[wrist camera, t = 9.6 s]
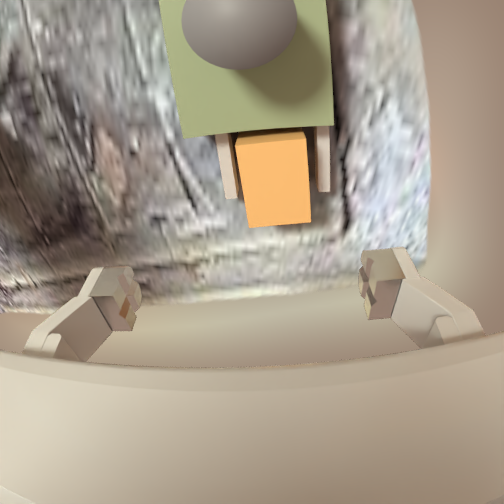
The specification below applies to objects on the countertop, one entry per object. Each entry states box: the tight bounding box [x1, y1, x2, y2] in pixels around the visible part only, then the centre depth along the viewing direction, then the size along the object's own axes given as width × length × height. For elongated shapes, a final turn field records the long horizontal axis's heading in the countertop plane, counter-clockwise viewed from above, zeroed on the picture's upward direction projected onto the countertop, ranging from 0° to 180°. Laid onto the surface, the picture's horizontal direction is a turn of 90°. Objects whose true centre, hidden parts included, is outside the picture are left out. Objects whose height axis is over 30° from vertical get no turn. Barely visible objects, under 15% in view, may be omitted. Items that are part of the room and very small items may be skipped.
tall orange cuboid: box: [235, 127, 311, 228], centre depth 26 cm, size 5×7×5 cm
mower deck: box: [159, 0, 334, 199], centre depth 19 cm, size 11×20×9 cm, turn 6°
